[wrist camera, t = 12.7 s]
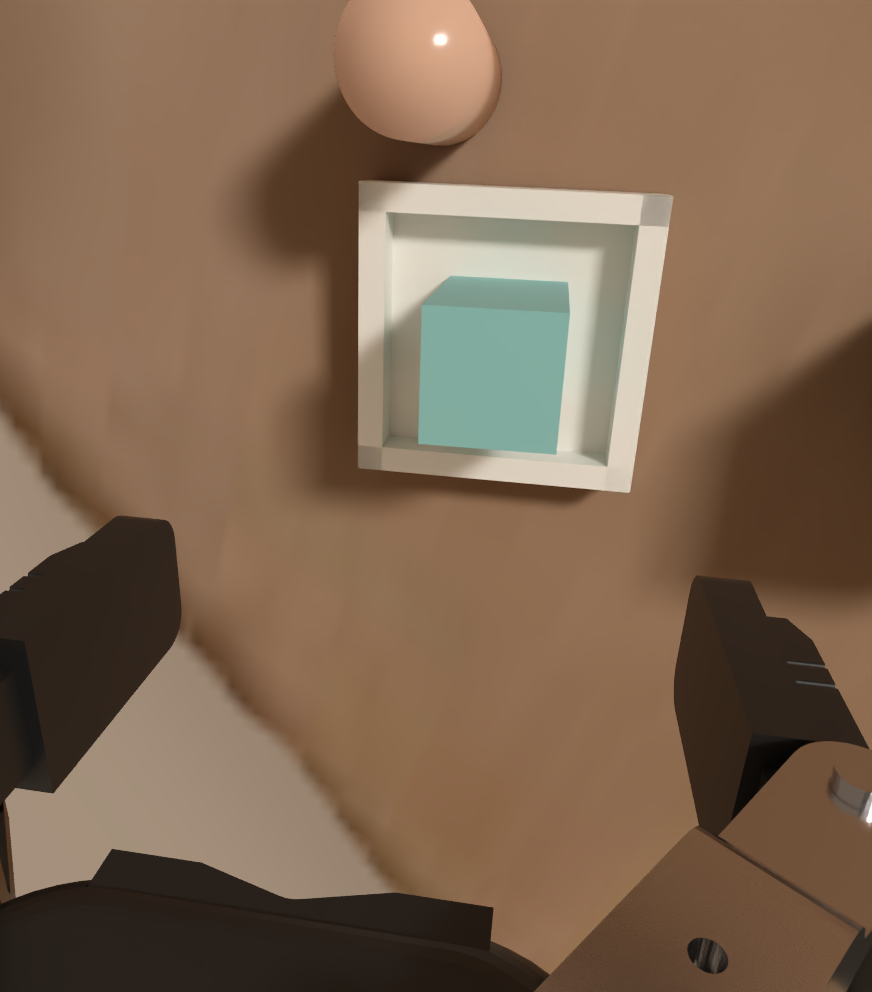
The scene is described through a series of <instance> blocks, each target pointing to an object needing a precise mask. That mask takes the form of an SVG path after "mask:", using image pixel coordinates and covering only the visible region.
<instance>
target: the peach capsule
mask: <svg viewBox="0 0 872 992" xmlns="http://www.w3.org/2000/svg"><path fill="white" fill-rule="evenodd" d="M334 67H335V72H336V77H337V81H338V84H339V87H340V90H341V92H342V94H343V97H344V99H345V100H346V102H347V104H348V106H349V107H350V109H351V110H352V111H353V112H354V114H355V115H356V116H357V117H358V118H359V119H360V120H361V121H362V122H363V123H364V124H365V125H366V126H368V127H369V128H370V129H372V130H374V131H375V132H377V133H379V134H381V135H383V136H386V137H388V138H392V139H396V140H402V141H408V142H415V143H422V144H428V145H436V146H448V145H453V144H457V143H460V142H463V141H465V140H467V139H469V138H470V137H472V136H473V135H475V134H476V133H477V132H478V131H479V130H481V129H482V128H483V126H484V125H485V124H486V123H487V122H488V120H489V119H490V117H491V116H492V114H493V112H494V110H495V108H496V105H497V103H498V100H499V96H500V92H501V85H502V70H501V63H500V59H499V55H498V52H497V49H496V47H495V45H494V43H493V41H492V39H491V37H490V36H489V34H488V32H487V30H486V28H485V27H484V25H483V23H482V21H481V19H480V18H479V16H478V14H477V12H476V10H475V9H474V7H473V5H472V3H471V2H470V0H349V2H348V4H347V5H346V7H345V9H344V11H343V13H342V16H341V18H340V20H339V23H338V27H337V30H336V35H335V42H334Z"/></svg>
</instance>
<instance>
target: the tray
mask: <svg viewBox="0 0 872 992" xmlns="http://www.w3.org/2000/svg"><path fill="white" fill-rule="evenodd" d="M672 202H673V196H671V195H667V194H659V193H639V192H618V191H597V190H576V189H555V188H534V187H513V186H492V185H471V184H450V183H429V182H409V181H388V180H365V181H359V283H358V468H362V469H373V470H384V471H395V472H406V473H417V474H428V475H439V476H450V477H461V478H472V479H483V480H494V481H505V482H516V483H527V484H538V485H549V486H560V487H571V488H582V489H593V490H604V491H616V492H627V493H630V488H631V482H632V475H633V468H634V461H635V454H636V448H637V441H638V434H639V427H640V420H641V413H642V407H643V400H644V393H645V386H646V379H647V372H648V366H649V359H650V352H651V345H652V338H653V331H654V325H655V318H656V311H657V304H658V297H659V291H660V284H661V277H662V270H663V263H664V256H665V250H666V243H667V236H668V229H669V222H670V215H671V209H672ZM450 276H466V277H485V278H503V279H522V280H541V281H559V282H568V289H569V304H570V320H569V330H568V340H567V350H566V361H565V371H564V381H563V391H562V402H561V412H560V422H559V432H558V442H557V453H556V455H553V454H540V453H528V452H515V451H503V450H490V449H477V448H465V447H452V446H439V445H427V444H418V430H419V392H420V354H421V316H422V304H423V303H424V302H425V301H426V300H427V299H428V298H429V297H430V296H431V295H432V294H433V293H434V292H435V291H436V290H437V289H438V288H439V287H440V286H441V285H442V284H443V283H444V282H445V281H446V280H447V279H448V278H449V277H450Z"/></svg>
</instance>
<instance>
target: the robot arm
mask: <svg viewBox="0 0 872 992" xmlns="http://www.w3.org/2000/svg"><path fill="white" fill-rule="evenodd" d="M180 621H181V598H180V588H179V578H178V567H177V557H176V547H175V537H174V532H173V529H172V526H171V525H170V523H169V522H168V521H166V520H160V519H150V518H140V517H130V516H117V517H115V518H114V519H112V520H111V521H110V522H109V523H107V524H106V525H105V526H104V527H102V528H101V529H100V530H99V531H97V532H96V533H95V534H94V535H92V536H91V537H90V538H88V539H87V540H86V541H85V542H81V543H79V544H76V545H74V546H72V547H69V548H67V549H65V550H62V551H60V552H58V553H55V554H53V555H51V556H49V557H48V558H47V559H45V560H44V561H43V562H41V563H40V564H39V565H38V566H36V567H35V568H34V569H32V570H31V571H30V572H29V573H28V576H27V577H26V576H23V577H22V578H21V579H20V580H18V581H17V582H16V583H14V584H13V585H12V586H10V590H9V591H4V592H3V593H1V594H0V992H872V750H870V749H869V747H868V745H867V744H866V742H865V740H864V738H863V736H862V734H861V732H860V730H859V728H858V726H857V724H856V723H855V721H854V719H853V717H852V715H851V713H850V711H849V709H848V707H847V705H846V703H845V702H844V700H843V698H842V696H841V694H840V692H839V690H838V689H835V683H834V681H833V679H832V677H831V675H830V673H829V671H828V669H825V663H824V662H823V660H822V658H821V656H820V654H819V652H818V650H817V648H816V646H815V644H814V642H813V641H812V640H811V639H810V638H809V637H808V636H807V635H805V634H804V633H803V632H802V631H801V630H799V629H798V628H797V627H796V626H795V625H793V624H792V623H791V622H790V621H789V620H788V619H785V618H776V617H767V616H766V614H765V612H764V610H763V607H762V605H761V603H760V601H759V599H758V596H757V594H756V592H755V590H754V588H753V585H752V584H751V582H750V581H744V580H735V579H725V578H715V577H705V576H696V577H695V578H694V580H693V583H692V586H691V589H690V594H689V599H688V605H687V610H686V615H685V620H684V626H683V631H682V636H681V641H680V647H679V652H678V657H677V663H676V668H675V678H674V705H675V712H676V716H677V721H678V726H679V731H680V736H681V740H682V745H683V750H684V755H685V760H686V765H687V769H688V774H689V779H690V784H691V789H692V793H693V798H694V803H695V808H696V813H697V818H698V822H699V826H697V827H694V828H693V829H692V830H690V831H689V832H688V833H687V834H686V835H685V836H684V837H683V838H682V839H681V840H680V841H679V842H678V843H677V844H676V845H675V846H674V847H673V848H672V849H671V850H670V851H669V852H668V853H667V854H666V855H665V856H664V857H663V858H662V859H661V860H660V861H659V862H658V863H657V865H656V866H655V867H654V868H653V869H652V870H651V871H650V872H649V873H648V874H647V875H646V876H645V877H644V878H643V879H642V880H641V881H640V882H639V883H638V884H637V885H636V886H635V887H634V888H633V889H632V890H631V891H630V893H629V894H628V895H627V896H626V897H625V898H624V899H623V900H622V901H621V902H620V903H619V904H618V905H617V906H616V907H615V908H614V909H613V910H612V911H611V912H610V913H609V914H608V915H607V916H606V917H605V918H604V919H603V920H602V922H601V923H600V924H599V925H598V926H597V927H596V928H595V929H594V930H593V931H592V932H591V933H590V934H589V935H588V936H587V937H586V938H585V939H584V940H583V941H582V942H581V943H580V944H579V945H578V946H577V947H576V948H575V950H574V951H573V952H572V953H571V954H570V955H569V956H568V957H567V958H566V959H565V960H564V961H563V962H562V963H561V964H560V965H559V966H558V967H557V968H556V969H555V970H554V971H553V972H552V973H551V974H550V975H549V974H548V973H547V972H545V971H544V970H543V969H541V968H540V967H538V966H537V965H536V964H534V963H533V962H531V961H530V960H528V959H526V958H524V957H522V956H521V955H519V954H517V953H515V952H514V951H512V950H510V949H508V948H506V947H503V946H501V945H499V944H496V943H494V942H492V941H490V940H491V929H492V918H493V908H492V907H486V906H479V905H473V904H466V903H460V902H453V901H447V900H440V899H434V898H427V897H421V896H414V895H408V894H401V893H383V894H369V895H355V896H341V897H326V898H312V899H288V898H284V897H281V896H278V895H276V894H273V893H271V892H269V891H266V890H264V889H262V888H259V887H257V886H255V885H252V884H250V883H248V882H245V881H243V880H241V879H238V878H236V877H234V876H231V875H229V874H227V873H224V872H222V871H220V870H217V869H215V868H213V867H210V866H208V865H206V864H203V863H200V862H193V861H187V860H180V859H174V858H167V857H161V856H154V855H147V854H141V853H135V852H128V851H121V850H115V849H112V850H111V852H110V853H109V854H108V856H107V857H106V859H105V861H104V862H103V863H102V865H101V867H100V868H99V870H98V871H97V873H96V874H95V876H94V877H93V879H92V880H87V881H79V882H73V883H67V884H62V885H56V886H53V887H49V888H45V889H41V890H38V891H34V892H31V893H28V894H25V895H23V896H20V897H17V898H16V896H15V885H14V872H13V861H12V850H11V837H10V827H9V826H10V825H9V817H8V812H7V808H6V803H5V799H6V798H7V797H8V796H9V794H10V793H11V792H12V791H13V790H14V788H20V789H27V790H33V791H41V792H47V793H54V792H55V791H56V789H57V788H58V787H59V786H60V784H61V783H62V782H63V781H64V779H65V778H66V777H67V776H68V774H69V773H70V772H71V771H72V770H73V768H74V767H75V766H76V765H77V763H78V762H79V761H80V759H81V758H82V757H83V756H84V755H85V753H86V752H87V751H88V750H89V748H90V747H91V746H92V745H93V743H94V742H95V741H96V740H97V738H98V737H99V736H100V735H101V733H102V732H103V731H104V730H105V728H106V727H107V726H108V725H109V724H110V722H111V721H112V720H113V719H114V717H115V716H116V715H117V714H118V712H119V711H120V710H121V709H122V707H123V706H124V705H125V704H126V702H127V701H128V700H129V699H130V697H131V696H132V695H133V694H134V692H135V691H136V690H137V689H138V687H139V686H140V685H141V684H142V683H143V681H144V680H145V679H146V677H147V676H148V675H149V674H150V673H151V671H152V670H153V669H154V668H155V666H156V665H157V664H158V662H159V661H160V660H161V659H162V658H163V656H164V655H165V654H166V653H167V651H168V650H169V649H170V648H171V646H172V645H173V643H174V641H175V639H176V636H177V634H178V630H179V627H180Z"/></svg>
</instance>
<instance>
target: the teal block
mask: <svg viewBox="0 0 872 992" xmlns="http://www.w3.org/2000/svg"><path fill="white" fill-rule="evenodd" d="M569 320H570V304H569V289H568V282H559V281H541V280H522V279H503V278H485V277H466V276H450V277H449V278H448V279H447V280H446V281H445V282H444V283H443V284H442V285H441V286H440V287H439V288H438V289H437V290H436V291H435V292H434V293H433V294H432V295H431V296H430V297H429V298H428V299H427V300H426V301H425V302H424V303H423V304H422V316H421V354H420V392H419V430H418V444H427V445H439V446H452V447H465V448H477V449H490V450H503V451H515V452H528V453H540V454H553V455H556V453H557V442H558V432H559V422H560V412H561V402H562V391H563V381H564V371H565V361H566V350H567V340H568V330H569Z"/></svg>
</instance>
